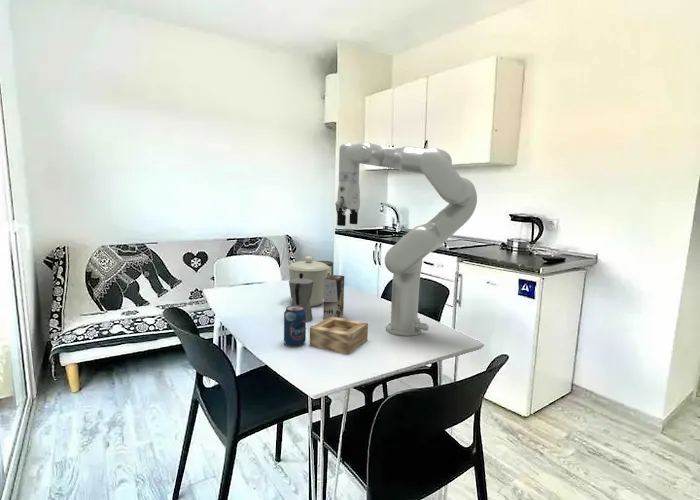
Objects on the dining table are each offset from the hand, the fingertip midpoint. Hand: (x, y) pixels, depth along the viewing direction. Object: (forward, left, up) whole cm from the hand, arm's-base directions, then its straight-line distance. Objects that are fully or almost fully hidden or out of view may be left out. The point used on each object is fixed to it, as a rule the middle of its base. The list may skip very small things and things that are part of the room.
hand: (347, 224), depth 155 cm
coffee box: (+5, 0, -37) cm, 37 cm away
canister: (+24, -11, -37) cm, 46 cm away
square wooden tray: (-10, +23, -37) cm, 44 cm away
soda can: (+2, +31, -37) cm, 48 cm away
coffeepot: (+14, +10, -37) cm, 41 cm away
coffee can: (+31, -35, -37) cm, 60 cm away
